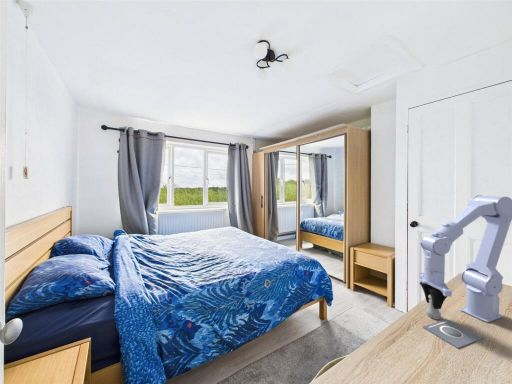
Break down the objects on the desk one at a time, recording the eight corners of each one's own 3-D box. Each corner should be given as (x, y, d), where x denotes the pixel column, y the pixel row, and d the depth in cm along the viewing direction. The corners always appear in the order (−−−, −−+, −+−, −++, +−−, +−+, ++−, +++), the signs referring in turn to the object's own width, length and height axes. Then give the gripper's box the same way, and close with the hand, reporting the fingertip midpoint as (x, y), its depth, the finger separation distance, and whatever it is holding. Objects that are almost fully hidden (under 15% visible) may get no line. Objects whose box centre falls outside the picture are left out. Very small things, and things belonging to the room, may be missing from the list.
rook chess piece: (444, 320, 77) (444, 298, 77) (429, 319, 78) (430, 297, 78) (436, 313, 82) (436, 292, 81) (423, 311, 83) (423, 291, 82)
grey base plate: (446, 319, 78) (446, 318, 78) (482, 338, 68) (482, 337, 68) (422, 327, 74) (422, 326, 74) (457, 348, 65) (457, 347, 64)
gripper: (411, 261, 87) (410, 294, 88) (435, 277, 73) (434, 316, 73) (430, 262, 86) (429, 295, 87) (459, 278, 72) (458, 318, 72)
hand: (433, 305), depth 80 cm, fingers closed on rook chess piece, 3 cm apart
